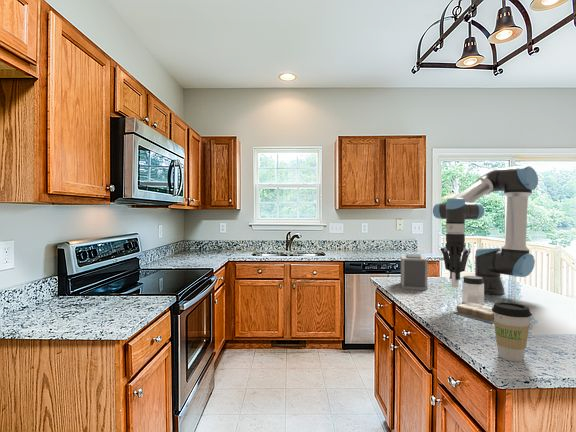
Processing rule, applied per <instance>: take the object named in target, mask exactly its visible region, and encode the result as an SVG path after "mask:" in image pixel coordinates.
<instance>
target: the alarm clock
mask: <svg viewBox="0 0 576 432" xmlns="http://www.w3.org/2000/svg"><path fill="white" fill-rule="evenodd" d="M428 266H429V265H428V258H427V257H426V256H424V255H421V253H406V255H400V285H401V289H402V290H412V291H413V290H415V291H428Z"/></svg>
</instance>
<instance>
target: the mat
mask: <svg viewBox="0 0 576 432" xmlns="http://www.w3.org/2000/svg"><path fill="white" fill-rule="evenodd" d="M453 314H455V315H459V316H462V317H466V318H469V319H473V320H477V321H481V322H484V323H488V324H491V325H493V324H494V319H492V320H488V319H484V318H480V317H477V316H473V315H469V314H465V313H462V312H458V311H455V312H453Z"/></svg>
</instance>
